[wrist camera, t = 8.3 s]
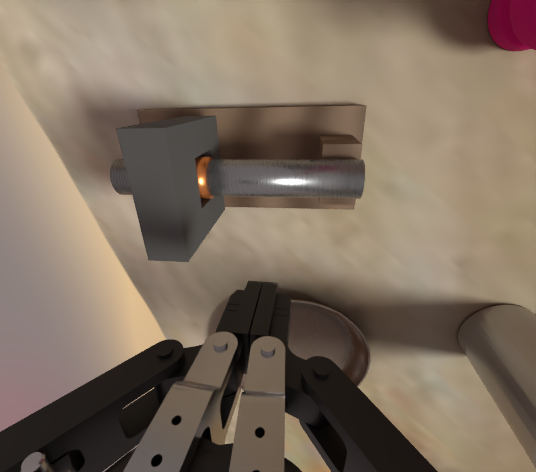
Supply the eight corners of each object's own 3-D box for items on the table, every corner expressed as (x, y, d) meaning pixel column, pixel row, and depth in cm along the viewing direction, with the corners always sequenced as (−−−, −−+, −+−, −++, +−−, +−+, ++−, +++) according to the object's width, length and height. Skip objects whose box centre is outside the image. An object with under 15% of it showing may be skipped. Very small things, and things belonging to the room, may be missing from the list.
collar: (216, 115, 26) (164, 128, 16) (224, 209, 30) (188, 261, 20) (184, 116, 26) (116, 128, 17) (197, 208, 30) (148, 260, 21)
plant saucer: (314, 260, 36) (315, 275, 33) (392, 361, 42) (399, 382, 39) (198, 324, 43) (190, 341, 40) (278, 402, 49) (277, 422, 46)
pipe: (359, 153, 23) (367, 161, 20) (354, 193, 24) (361, 207, 21) (127, 153, 25) (103, 161, 22) (136, 190, 27) (115, 202, 24)
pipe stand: (363, 105, 27) (380, 108, 21) (351, 204, 31) (363, 231, 25) (144, 109, 30) (102, 113, 23) (162, 200, 34) (130, 224, 28)
